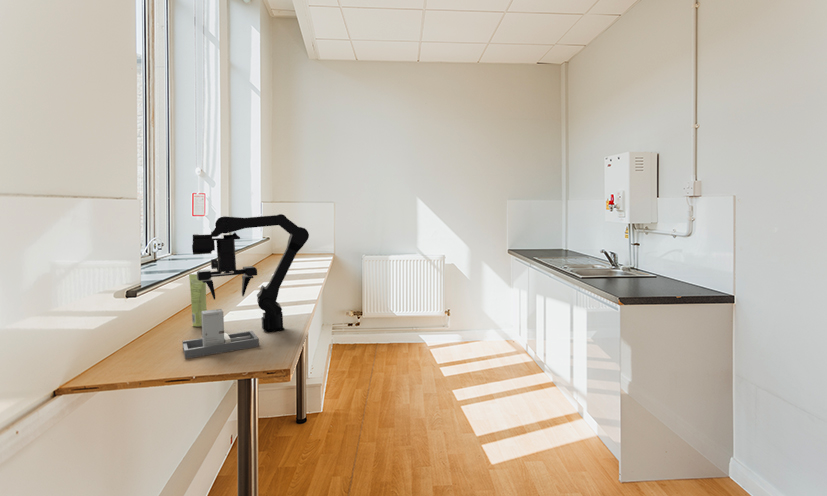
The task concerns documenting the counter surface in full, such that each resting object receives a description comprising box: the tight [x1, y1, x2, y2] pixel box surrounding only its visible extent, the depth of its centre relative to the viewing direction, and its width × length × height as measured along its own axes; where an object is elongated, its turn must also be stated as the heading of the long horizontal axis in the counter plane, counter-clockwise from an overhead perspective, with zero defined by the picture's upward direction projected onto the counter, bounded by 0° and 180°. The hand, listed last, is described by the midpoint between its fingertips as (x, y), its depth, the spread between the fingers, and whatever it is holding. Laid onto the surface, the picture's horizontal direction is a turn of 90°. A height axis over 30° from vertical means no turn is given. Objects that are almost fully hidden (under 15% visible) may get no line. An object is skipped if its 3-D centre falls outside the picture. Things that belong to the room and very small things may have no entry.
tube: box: [188, 273, 207, 328], centre depth 169 cm, size 6×5×20 cm
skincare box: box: [201, 308, 225, 347], centre depth 140 cm, size 6×4×12 cm
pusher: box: [224, 332, 251, 343], centre depth 144 cm, size 8×8×3 cm
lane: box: [182, 330, 260, 359], centre depth 142 cm, size 21×11×2 cm, turn 120°
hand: (228, 297), depth 155 cm, fingers open, 9 cm apart
